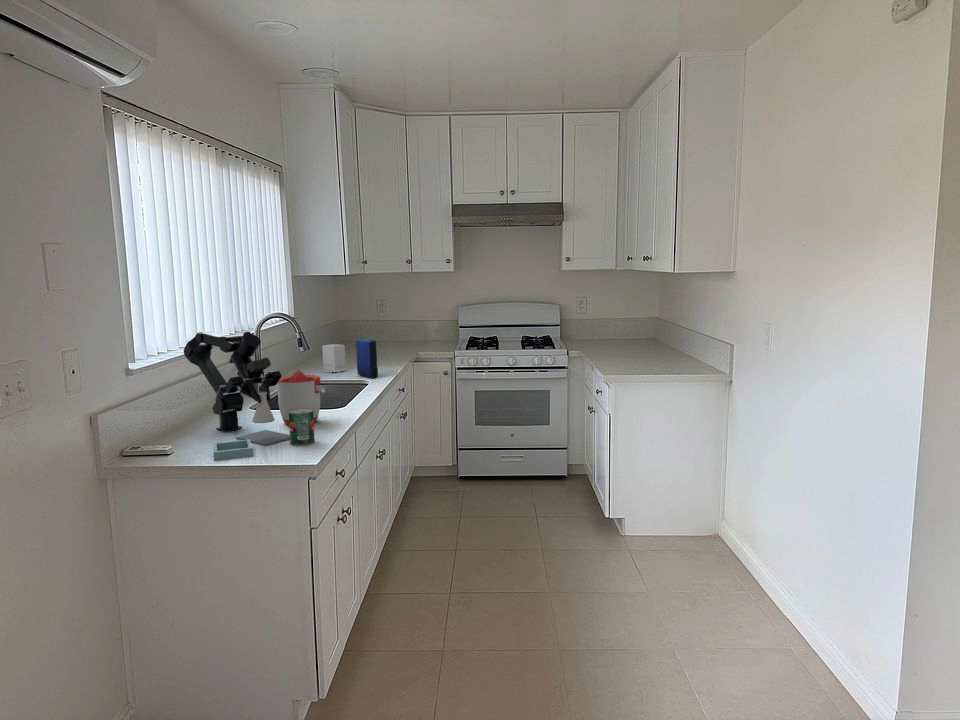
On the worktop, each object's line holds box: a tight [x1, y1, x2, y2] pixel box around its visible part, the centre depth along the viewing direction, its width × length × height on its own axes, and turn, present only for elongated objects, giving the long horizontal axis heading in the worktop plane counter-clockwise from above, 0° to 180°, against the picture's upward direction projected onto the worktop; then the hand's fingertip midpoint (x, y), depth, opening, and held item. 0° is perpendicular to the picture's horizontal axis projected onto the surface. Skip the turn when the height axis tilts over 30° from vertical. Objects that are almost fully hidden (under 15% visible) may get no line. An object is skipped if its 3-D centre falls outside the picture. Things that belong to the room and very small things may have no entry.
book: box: [355, 338, 379, 379], centre depth 337 cm, size 14×5×20 cm, turn 43°
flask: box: [251, 391, 275, 424], centre depth 217 cm, size 7×7×10 cm
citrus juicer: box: [276, 369, 326, 426], centre depth 239 cm, size 16×17×20 cm
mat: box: [235, 429, 290, 447], centre depth 219 cm, size 16×12×1 cm
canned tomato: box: [288, 408, 316, 447], centre depth 212 cm, size 8×8×11 cm
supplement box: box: [321, 343, 347, 374], centre depth 356 cm, size 9×9×15 cm
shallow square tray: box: [212, 439, 254, 461], centre depth 201 cm, size 11×11×2 cm
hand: (264, 401), depth 215 cm, fingers closed on flask, 3 cm apart
